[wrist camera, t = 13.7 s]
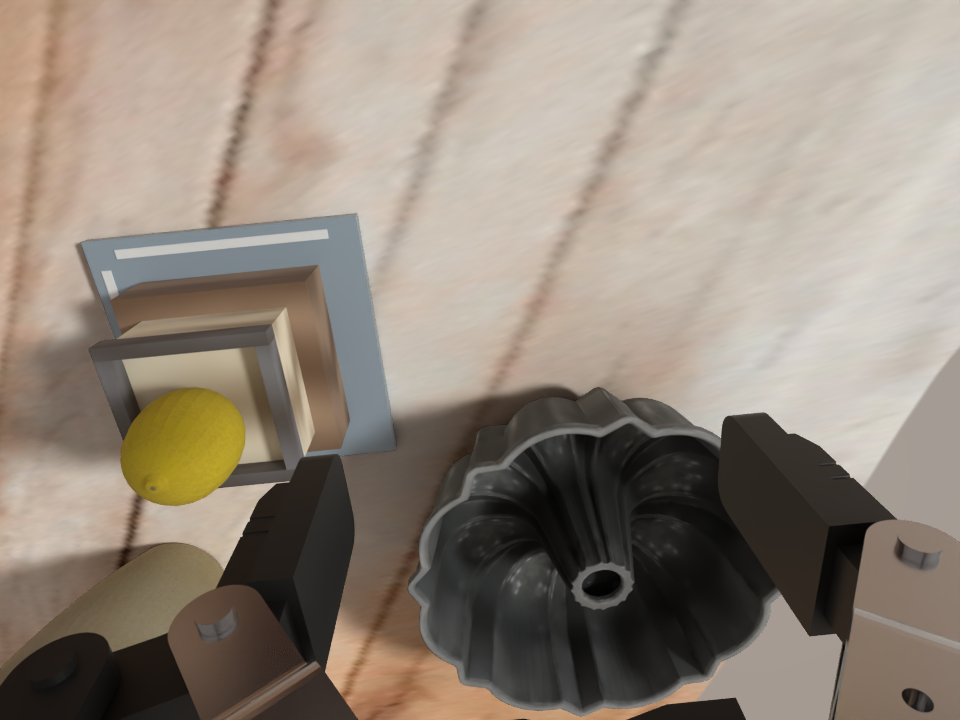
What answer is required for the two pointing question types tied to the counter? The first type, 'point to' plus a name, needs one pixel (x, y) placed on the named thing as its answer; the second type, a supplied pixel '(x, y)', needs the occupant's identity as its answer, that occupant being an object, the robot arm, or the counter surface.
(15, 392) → the counter surface
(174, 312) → the block tower
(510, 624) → the bundt pan
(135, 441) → the lemon
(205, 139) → the counter surface
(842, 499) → the robot arm
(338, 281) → the board
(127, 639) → the plant pot
